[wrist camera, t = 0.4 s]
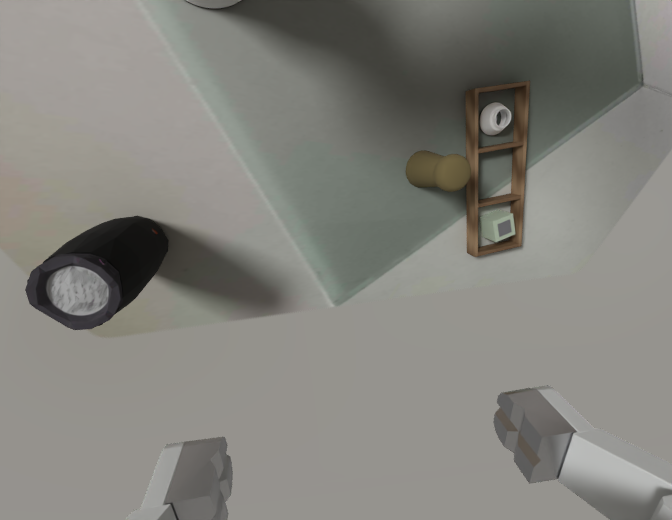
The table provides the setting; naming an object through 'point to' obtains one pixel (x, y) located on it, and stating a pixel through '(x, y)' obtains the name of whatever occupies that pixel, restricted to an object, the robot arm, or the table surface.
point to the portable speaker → (98, 272)
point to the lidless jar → (494, 118)
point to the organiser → (517, 167)
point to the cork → (438, 171)
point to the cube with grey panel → (497, 225)
